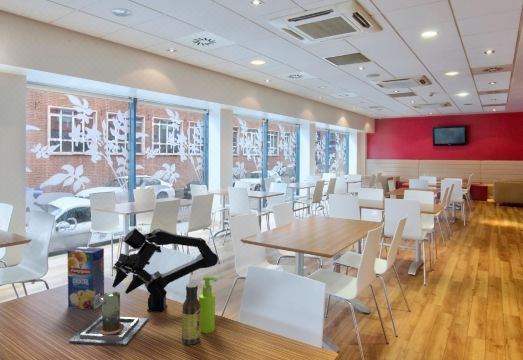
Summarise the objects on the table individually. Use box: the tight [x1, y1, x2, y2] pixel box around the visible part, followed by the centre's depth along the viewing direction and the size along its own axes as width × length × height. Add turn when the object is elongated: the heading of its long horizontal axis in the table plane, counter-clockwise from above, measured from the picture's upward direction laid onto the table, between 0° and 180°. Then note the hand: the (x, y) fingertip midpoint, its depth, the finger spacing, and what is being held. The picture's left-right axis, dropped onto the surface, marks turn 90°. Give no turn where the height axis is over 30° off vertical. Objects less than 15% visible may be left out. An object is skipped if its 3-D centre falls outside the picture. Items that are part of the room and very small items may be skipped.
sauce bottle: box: [181, 283, 201, 345], centre depth 131 cm, size 6×6×20 cm
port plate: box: [68, 315, 149, 347], centre depth 137 cm, size 20×20×2 cm
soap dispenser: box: [198, 276, 219, 334], centre depth 139 cm, size 6×7×20 cm
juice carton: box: [67, 246, 105, 311], centre depth 159 cm, size 12×8×24 cm, turn 80°
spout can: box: [99, 291, 121, 332], centre depth 136 cm, size 8×6×13 cm
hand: (119, 290), depth 145 cm, fingers open, 9 cm apart
